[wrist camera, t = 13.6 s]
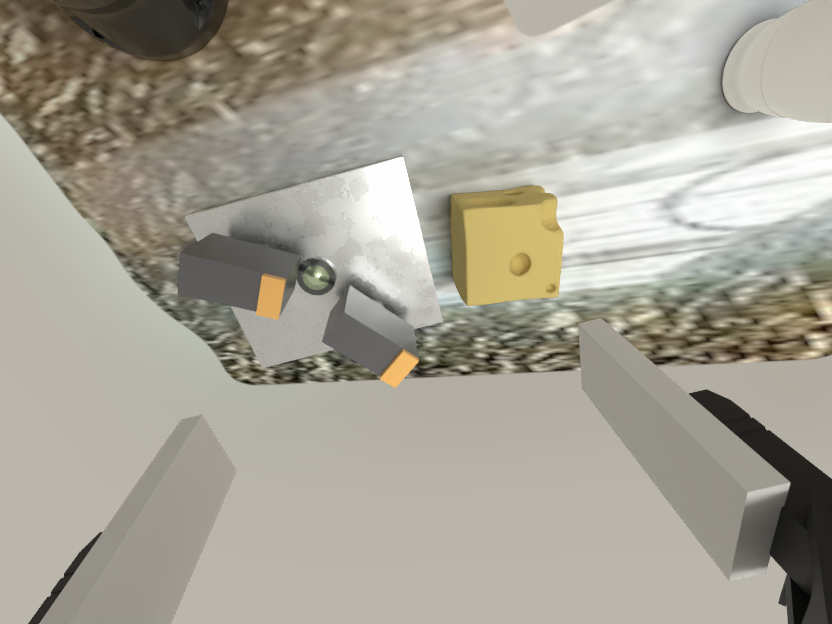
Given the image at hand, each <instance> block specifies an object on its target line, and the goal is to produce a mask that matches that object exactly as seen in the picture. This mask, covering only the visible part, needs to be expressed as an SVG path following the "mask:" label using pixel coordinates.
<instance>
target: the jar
mask: <svg viewBox="0 0 832 624" xmlns="http://www.w3.org/2000/svg"><path fill="white" fill-rule="evenodd" d="M722 85H723V92H724V95H725V98H726V100H727V102H728V103H729V104H730V105H731V106H732V107H733V108H734V109H736V110H738V111H740V112H744V113H754V112H759V111H760V112H762V113H765V114H768V115H771V116H776V117H783V118H790V119H794V120H799V121H806V122H819V123H831V122H832V0H812V1H809V2H807V3H805V4H803V5H800V6H798V7H796V8H795V9H793V10H791V11H789V12H787V13H786V14H784V15H783V16H781V17H780V18H775V19H769V20H766V21H763V22H761V23H759V24H757V25H755V26H754V27H752V28H751V29H750V30H748V31H747V32H746V33H745V34H744V35H743V36H742V37H741V38H740V39H739V41H738V42H737V43H736V45H735V46H734V47H733V49H732V51H731V53H730V55H729V57H728V59H727V62H726V64H725V68H724V72H723V80H722Z"/></svg>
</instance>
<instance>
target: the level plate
mask: <svg viewBox="0 0 832 624" xmlns="http://www.w3.org/2000/svg"><path fill="white" fill-rule="evenodd" d="M185 219H186V221H187V223H188V225H189V227H190V228H191V230H192V232H193V234H194V236H195V238H196V240H197V242H198V241H200V240H201V239H203V238H204V237H206V236H208V235H209V234H211V233H216V234H220V235H224V236H228V237H231V238H235V239H239V240H243V241H247V242H251V243H256V242H264V243H266V244H268V245H270V246H271V247H272V248H274V249H277V250H281V251H285V252H289V253H293V254H297V255H300V256H301V259H300V264H299V269H298V275H297V280H296V285H295V290H294V291H293V293H292V295H291V297H290V299H289V301H288V302H287V304H286V306H285V308H284V310H283V312H282V314H281V315H280V317H279V319H278V320H276V319H272V318H267V317H263V316H259V315H256V312H255V311H251V310H246V309H242V308H238V307H233V306H231V308H232V310H233V312H234V314H235V316H236V318H237V320H238V322H239V324H240V326H241V328H242V330H243V331H244V333H245V335H246V337H247V339H248V341H249V343H250V345H251V347H252V349H253V351H254V353H255V355H256V357H257V359H258V361H259V363H260V365H261V366H262V368H265V367H269V366H273V365H277V364H280V363H284V362H288V361H292V360H296V359H300V358H304V357H308V356H312V355H316V354H319V353H323V352H327V351H331V350H335V349H333V348H331V347H329V346H328V345H326V344H324V343H323V342H322V339H323V335H324V332H325V328H326V325H327V321H328V318H329V314H330V311H331V310H332V308H333V307H334V306H335V304H336V303H337V302H338V300H339V299H340V298H341V296H342V295H343V294H344V292H345V291H346V290H347V288H348V287H349V286H352V287H353V288H355V289H356V290H358V291H359V292H361V293H363V294H364V295H366V296H367V297H369V298H370V299H377V300H379V301H381V302H382V303H383V304H384V306H385V308H386V309H387V310H389V311H390V312H392V313H393V314H395V315H396V316H398V317H400V318H401V319H403V320H404V321H406V322H407V323H409V324H410V325H412V326H413V327H414V329H417V328H421V327H424V326H428V325H432V324H436V323H440V322H443V319H442V315H441V311H440V307H439V303H438V299H437V295H436V290H435V286H434V282H433V278H432V274H431V270H430V266H429V262H428V258H427V254H426V250H425V246H424V242H423V237H422V233H421V229H420V225H419V221H418V217H417V213H416V209H415V205H414V201H413V197H412V193H411V188H410V184H409V180H408V176H407V172H406V168H405V164H404V160H403V157H402V156H399V157H396V158H392V159H388V160H385V161H381V162H377V163H374V164H370V165H366V166H363V167H359V168H355V169H352V170H348V171H344V172H341V173H337V174H333V175H330V176H326V177H323V178H319V179H315V180H312V181H308V182H304V183H301V184H297V185H293V186H290V187H286V188H282V189H279V190H275V191H271V192H268V193H264V194H260V195H257V196H253V197H250V198H246V199H242V200H239V201H235V202H231V203H228V204H224V205H220V206H217V207H213V208H209V209H206V210H202V211H198V212H195V213H192V214H190V215H187V216H185Z"/></svg>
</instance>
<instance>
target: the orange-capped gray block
mask: <svg viewBox="0 0 832 624" xmlns="http://www.w3.org/2000/svg"><path fill="white" fill-rule="evenodd" d="M322 342H323V343H324V344H326V345H328V346H329V347H331V348H333V349H335V350H336V351H338V352H340V353H342V354H343V355H345V356H347V357H349V358H350V359H352V360H354V361H355V362H357V363H359V364H361V365H362V366H364V367H366V368H368V369H369V370H371V371H373V372H374V373H376V374H378V375H380V379H381V380H382V381H384V382H386V383H388V384H389V385H391V386H393V387H395V388H396V387H397V385H398V384H399V383H400V382H401V381H402V380H403V379H404V378H405V376H406V375H407V374H408V373H409V372H410V371H411V370H412V369H413V367H414V366H415V365H416V364H417V363H418V362H419V359H418V353H417V346H416V340H415V333H414V327H413V326H412V325H410V324H409V323H407V322H406V321H404V320H403V319H401V318H400V317H398V316H396V315H395V314H393V313H392V312H390V311H389V310H387V309H386V308H385V306H384V304H383V303H382V302H381V301H379V300H377V299H370V298H369V297H367V296H366V295H364V294H363V293H361V292H359V291H358V290H356V289H355V288H353V287H352V286H349V287H348V288H347V290H346V291H345V292H344V294H343V295H342V296H341V298H340V299H339V300H338V302H337V303H336V304H335V306H334V307H333V308H332V310H331V311H330V314H329V318H328V321H327V325H326V328H325V332H324V335H323V339H322Z"/></svg>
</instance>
